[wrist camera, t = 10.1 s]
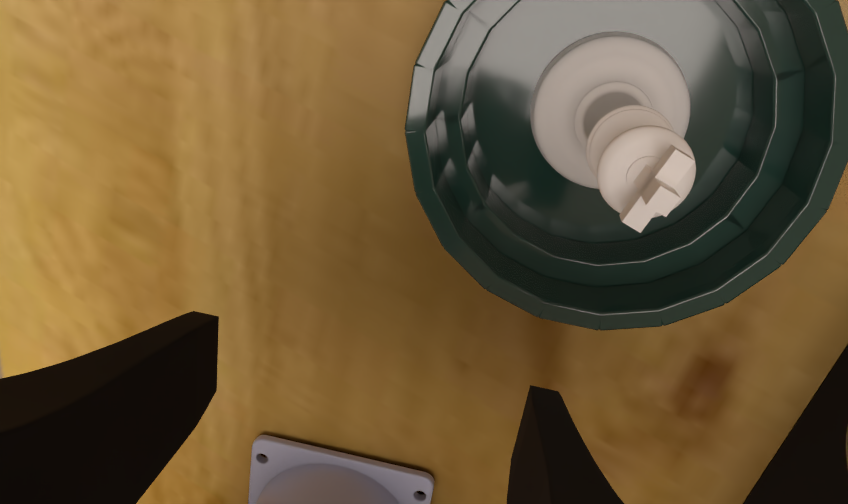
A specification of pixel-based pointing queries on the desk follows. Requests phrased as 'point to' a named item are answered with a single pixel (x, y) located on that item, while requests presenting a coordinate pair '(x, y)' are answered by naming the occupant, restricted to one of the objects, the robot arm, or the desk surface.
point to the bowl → (585, 207)
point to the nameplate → (813, 451)
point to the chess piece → (617, 123)
